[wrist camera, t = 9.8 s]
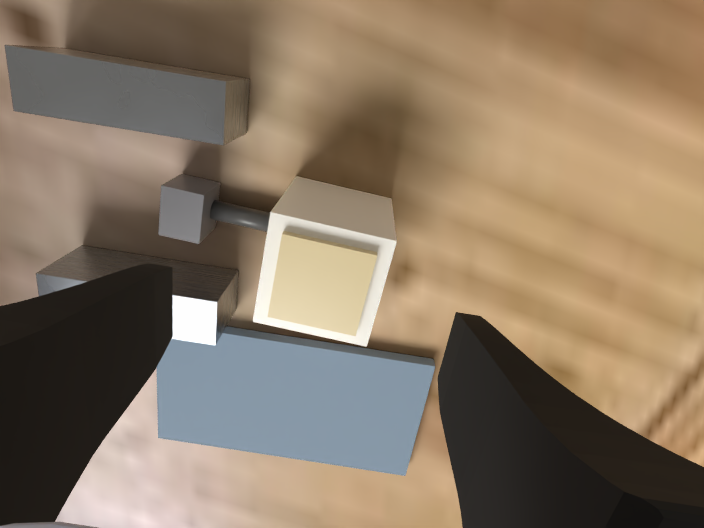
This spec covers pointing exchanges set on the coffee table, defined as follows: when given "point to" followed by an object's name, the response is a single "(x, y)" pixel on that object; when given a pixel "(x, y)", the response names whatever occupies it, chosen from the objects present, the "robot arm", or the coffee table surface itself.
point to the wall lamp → (301, 251)
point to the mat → (294, 399)
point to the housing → (144, 116)
